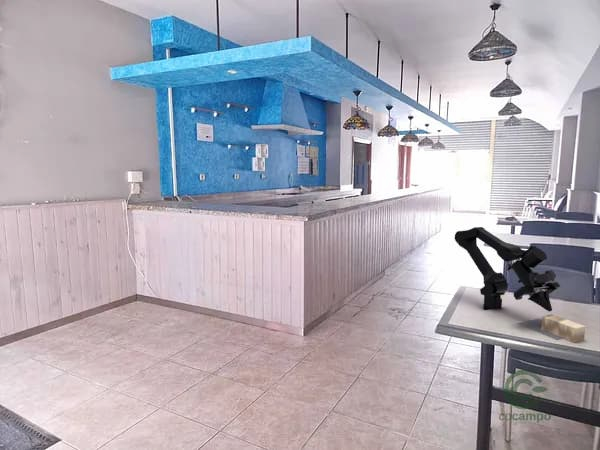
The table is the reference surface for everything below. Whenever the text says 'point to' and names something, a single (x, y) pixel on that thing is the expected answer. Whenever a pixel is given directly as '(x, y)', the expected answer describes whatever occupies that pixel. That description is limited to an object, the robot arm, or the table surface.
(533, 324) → the rubber mat
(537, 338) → the table surface
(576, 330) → the maple block
